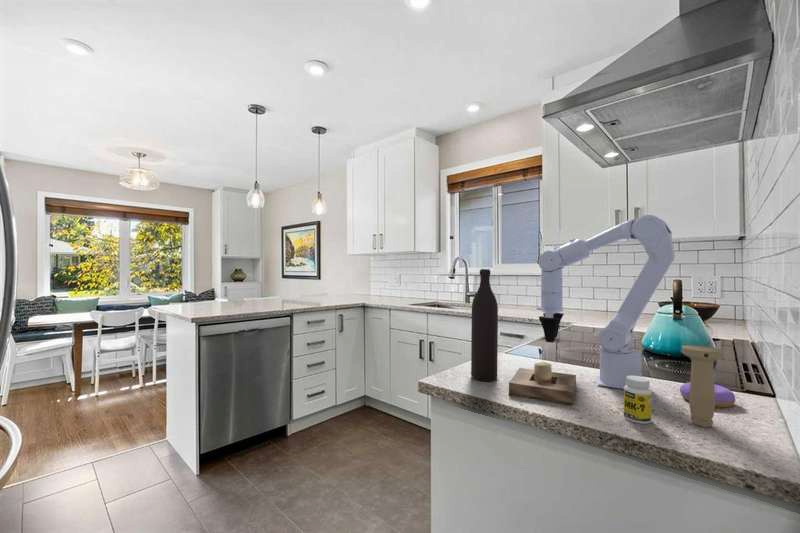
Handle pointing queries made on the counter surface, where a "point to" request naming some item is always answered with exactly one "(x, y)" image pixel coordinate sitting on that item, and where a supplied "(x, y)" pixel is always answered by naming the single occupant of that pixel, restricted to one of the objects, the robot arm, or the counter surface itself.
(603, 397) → the counter surface
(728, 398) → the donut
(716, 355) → the handle
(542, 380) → the peg
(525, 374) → the socket block
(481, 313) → the wine bottle
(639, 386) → the supplement bottle
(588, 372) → the counter surface
